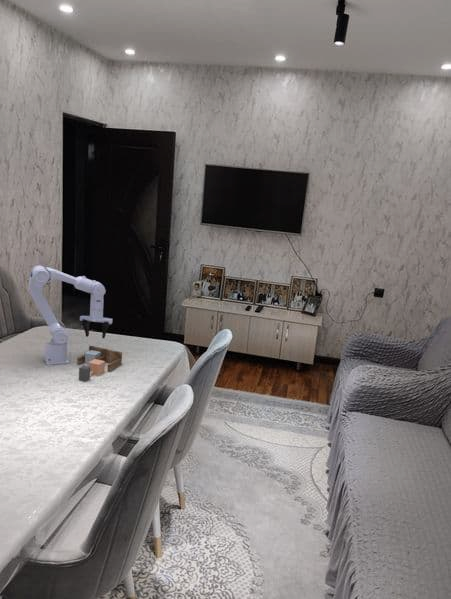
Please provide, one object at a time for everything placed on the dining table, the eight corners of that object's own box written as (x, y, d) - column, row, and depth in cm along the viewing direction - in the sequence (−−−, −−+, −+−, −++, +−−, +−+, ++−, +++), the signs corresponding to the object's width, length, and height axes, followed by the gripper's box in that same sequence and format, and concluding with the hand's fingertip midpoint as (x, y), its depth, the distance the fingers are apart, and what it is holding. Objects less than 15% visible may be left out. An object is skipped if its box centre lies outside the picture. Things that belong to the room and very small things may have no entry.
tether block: (76, 379, 191) (77, 367, 189) (94, 369, 203) (94, 357, 202) (87, 382, 189) (87, 369, 188) (104, 372, 201) (105, 360, 200)
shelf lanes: (77, 364, 207) (77, 351, 205) (89, 357, 216) (90, 345, 215) (109, 371, 202) (110, 358, 201) (121, 364, 212) (122, 352, 211)
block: (84, 363, 209) (85, 353, 208) (90, 360, 214) (91, 349, 213) (94, 365, 208) (94, 355, 207) (100, 362, 212) (100, 351, 211)
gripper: (77, 308, 207) (77, 337, 210) (109, 312, 207) (108, 341, 210) (83, 305, 214) (82, 333, 217) (114, 308, 214) (112, 336, 217)
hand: (95, 336), depth 214 cm, fingers open, 7 cm apart
